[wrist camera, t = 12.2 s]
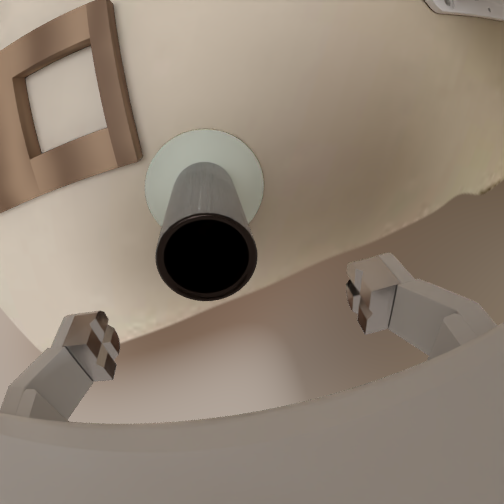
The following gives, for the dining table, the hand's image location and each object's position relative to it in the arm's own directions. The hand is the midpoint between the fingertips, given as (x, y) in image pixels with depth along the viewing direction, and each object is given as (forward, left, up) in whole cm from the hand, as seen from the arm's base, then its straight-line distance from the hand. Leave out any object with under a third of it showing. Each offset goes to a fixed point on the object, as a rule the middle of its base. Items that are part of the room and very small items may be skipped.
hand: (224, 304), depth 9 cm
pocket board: (+13, -9, -15) cm, 22 cm away
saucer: (+1, +1, -15) cm, 15 cm away
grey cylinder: (+1, +1, -15) cm, 14 cm away
